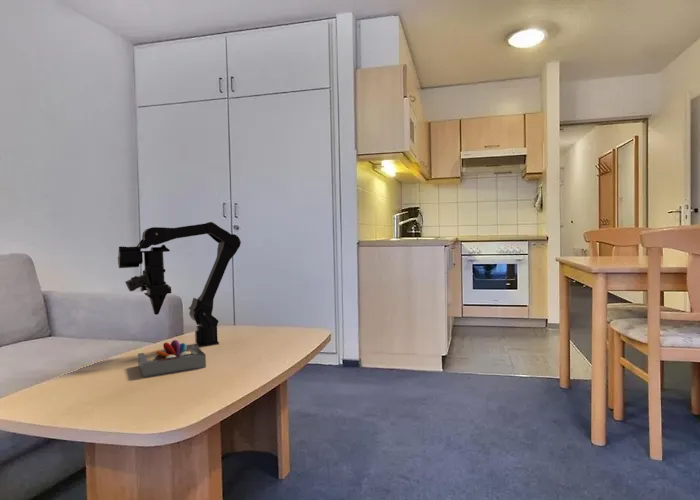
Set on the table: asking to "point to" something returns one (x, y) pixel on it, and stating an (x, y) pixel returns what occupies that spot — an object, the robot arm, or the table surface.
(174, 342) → the multicolored petal rattle
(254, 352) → the table surface
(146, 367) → the tray
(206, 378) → the table surface
